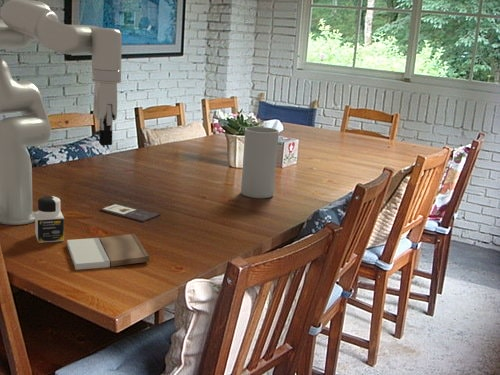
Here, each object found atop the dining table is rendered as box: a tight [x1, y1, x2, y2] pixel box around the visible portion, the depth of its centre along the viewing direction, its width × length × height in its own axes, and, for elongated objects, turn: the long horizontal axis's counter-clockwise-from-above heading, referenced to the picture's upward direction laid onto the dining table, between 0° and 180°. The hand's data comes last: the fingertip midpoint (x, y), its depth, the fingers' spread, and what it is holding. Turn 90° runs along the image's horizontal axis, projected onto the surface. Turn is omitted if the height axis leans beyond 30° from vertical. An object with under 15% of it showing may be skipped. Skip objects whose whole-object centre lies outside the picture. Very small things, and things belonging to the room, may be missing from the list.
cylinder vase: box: [240, 126, 280, 200], centre depth 241 cm, size 12×12×25 cm
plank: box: [98, 233, 150, 267], centre depth 176 cm, size 10×18×2 cm, turn 22°
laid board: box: [66, 237, 111, 271], centre depth 173 cm, size 9×18×2 cm, turn 22°
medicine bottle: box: [34, 195, 65, 244], centre depth 182 cm, size 7×7×12 cm
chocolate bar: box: [99, 203, 161, 223], centre depth 211 cm, size 9×1×18 cm
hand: (105, 144), depth 174 cm, fingers closed
